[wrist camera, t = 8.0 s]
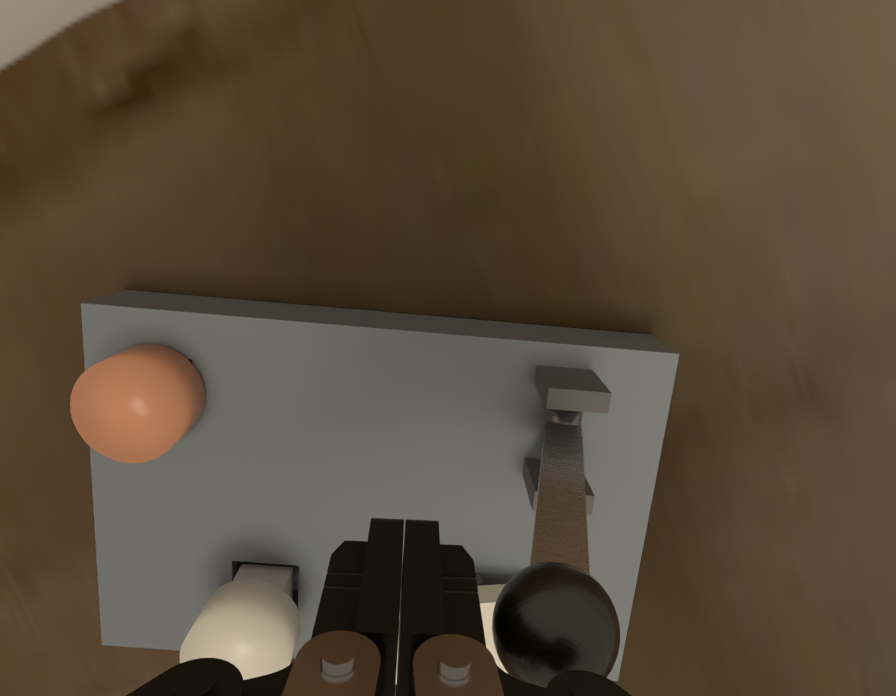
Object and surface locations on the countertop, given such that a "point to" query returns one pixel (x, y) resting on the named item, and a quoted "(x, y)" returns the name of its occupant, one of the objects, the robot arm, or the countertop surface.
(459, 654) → the robot arm
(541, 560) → the lever
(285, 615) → the button
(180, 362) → the button
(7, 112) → the countertop surface
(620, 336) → the panel
